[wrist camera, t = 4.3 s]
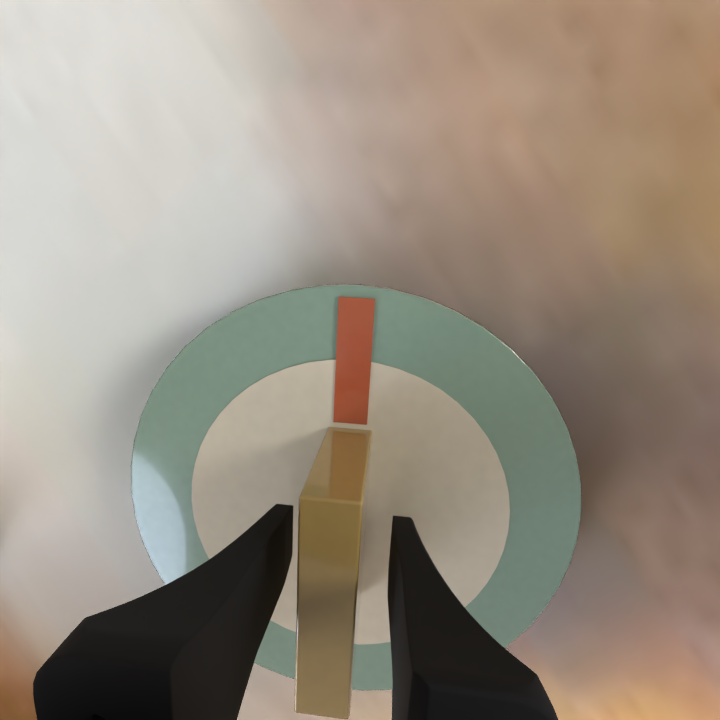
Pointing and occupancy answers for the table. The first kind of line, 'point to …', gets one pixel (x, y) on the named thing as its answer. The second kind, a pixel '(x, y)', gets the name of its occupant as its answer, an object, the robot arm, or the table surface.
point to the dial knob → (359, 471)
